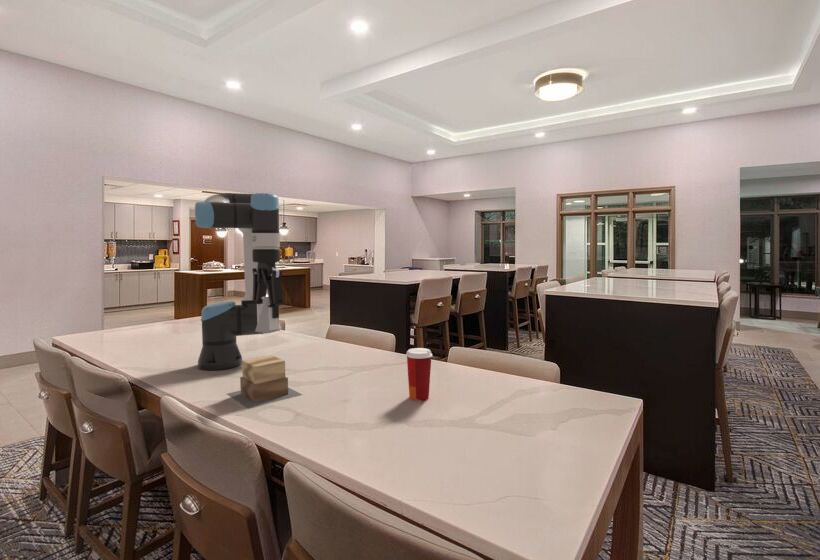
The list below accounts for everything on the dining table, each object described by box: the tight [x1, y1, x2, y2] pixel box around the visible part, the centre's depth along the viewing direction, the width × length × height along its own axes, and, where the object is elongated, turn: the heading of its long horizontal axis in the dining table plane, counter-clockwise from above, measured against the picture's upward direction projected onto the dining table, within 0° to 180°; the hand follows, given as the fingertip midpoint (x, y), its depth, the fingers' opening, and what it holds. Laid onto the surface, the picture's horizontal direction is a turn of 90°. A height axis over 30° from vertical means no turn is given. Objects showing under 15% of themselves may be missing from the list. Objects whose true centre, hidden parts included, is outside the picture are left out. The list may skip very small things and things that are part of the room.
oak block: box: [241, 354, 286, 384], centre depth 126 cm, size 9×9×5 cm
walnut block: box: [240, 376, 289, 403], centre depth 127 cm, size 10×10×5 cm
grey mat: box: [226, 386, 303, 409], centre depth 127 cm, size 16×16×1 cm
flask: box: [255, 296, 282, 334], centre depth 126 cm, size 7×7×10 cm
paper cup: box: [405, 347, 433, 402], centre depth 126 cm, size 8×8×14 cm
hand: (268, 327), depth 126 cm, fingers closed on flask, 7 cm apart
